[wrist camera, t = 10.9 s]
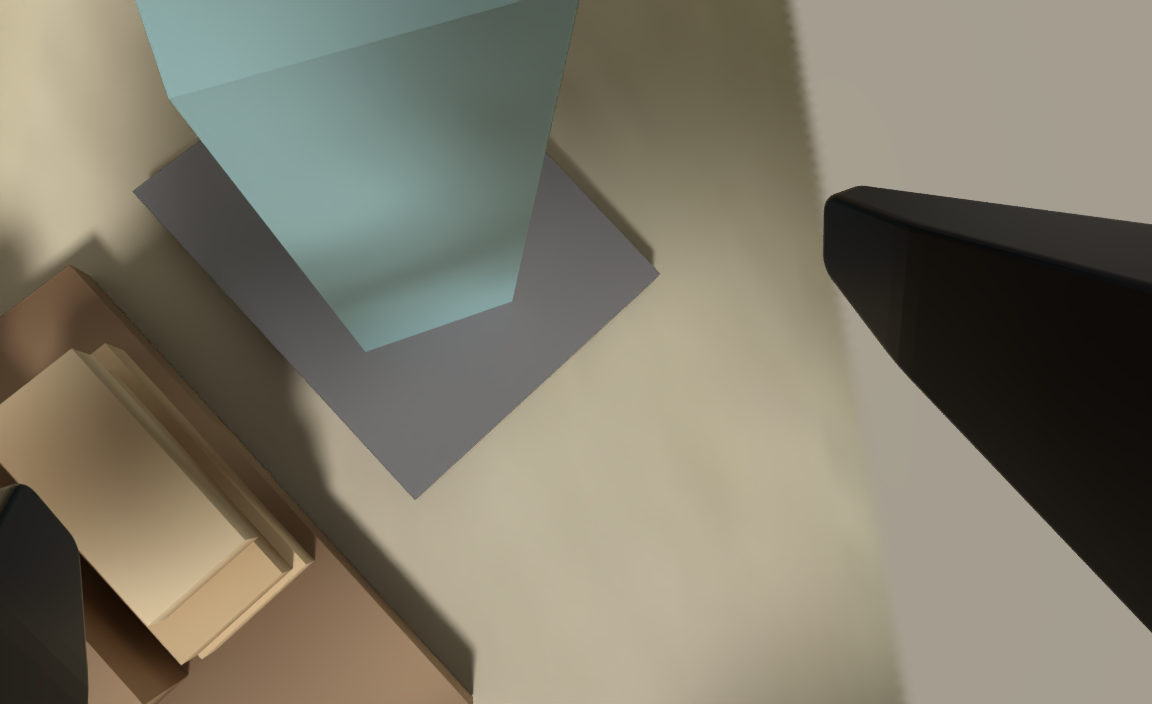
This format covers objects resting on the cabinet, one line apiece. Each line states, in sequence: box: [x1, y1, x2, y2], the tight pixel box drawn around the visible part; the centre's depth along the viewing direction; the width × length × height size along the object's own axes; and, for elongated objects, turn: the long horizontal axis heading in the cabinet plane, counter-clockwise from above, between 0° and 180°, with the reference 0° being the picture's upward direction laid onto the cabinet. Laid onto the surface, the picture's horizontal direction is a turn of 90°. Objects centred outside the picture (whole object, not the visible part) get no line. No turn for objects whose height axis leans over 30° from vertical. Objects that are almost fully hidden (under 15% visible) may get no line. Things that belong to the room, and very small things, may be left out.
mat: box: [132, 140, 660, 499], centre depth 17 cm, size 8×7×1 cm
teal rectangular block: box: [135, 0, 579, 352], centre depth 11 cm, size 4×3×10 cm
